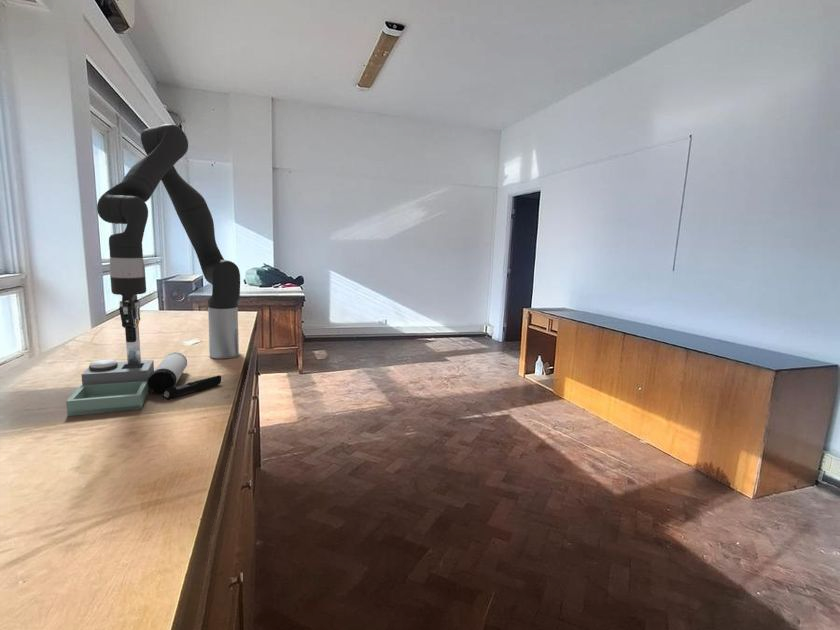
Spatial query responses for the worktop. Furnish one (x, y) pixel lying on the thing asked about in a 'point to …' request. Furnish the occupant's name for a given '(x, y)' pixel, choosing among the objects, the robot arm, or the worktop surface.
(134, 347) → the gold capped cylinder
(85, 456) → the worktop surface
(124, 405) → the tray
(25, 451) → the worktop surface
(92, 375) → the grey slotted holder
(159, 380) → the travel mug
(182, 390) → the electric trimmer
